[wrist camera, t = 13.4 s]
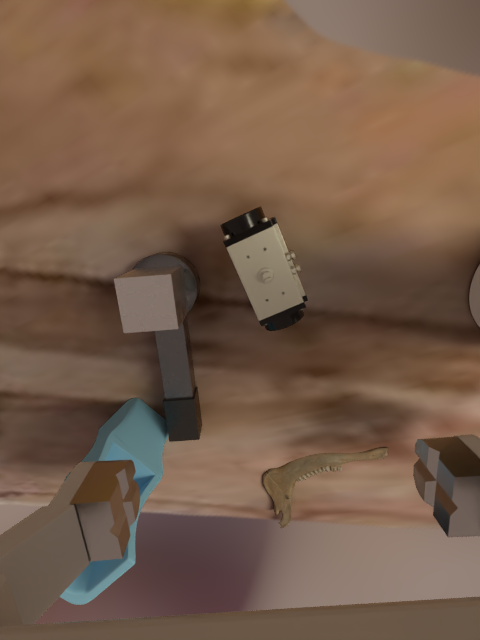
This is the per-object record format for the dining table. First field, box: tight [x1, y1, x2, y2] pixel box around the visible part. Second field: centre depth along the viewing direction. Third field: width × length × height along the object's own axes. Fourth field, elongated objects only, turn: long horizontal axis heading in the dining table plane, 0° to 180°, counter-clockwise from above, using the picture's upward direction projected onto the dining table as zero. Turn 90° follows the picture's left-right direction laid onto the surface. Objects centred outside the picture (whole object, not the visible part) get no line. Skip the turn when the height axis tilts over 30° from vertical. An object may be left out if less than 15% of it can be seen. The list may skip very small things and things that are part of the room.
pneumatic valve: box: [220, 207, 308, 331], centre depth 36 cm, size 6×12×12 cm, turn 24°
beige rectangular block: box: [114, 265, 189, 333], centre depth 36 cm, size 5×5×7 cm
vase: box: [60, 398, 169, 604], centre depth 39 cm, size 8×8×20 cm
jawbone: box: [263, 448, 388, 528], centre depth 50 cm, size 9×20×2 cm, turn 131°
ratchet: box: [133, 252, 202, 441], centre depth 41 cm, size 8×24×8 cm, turn 5°
